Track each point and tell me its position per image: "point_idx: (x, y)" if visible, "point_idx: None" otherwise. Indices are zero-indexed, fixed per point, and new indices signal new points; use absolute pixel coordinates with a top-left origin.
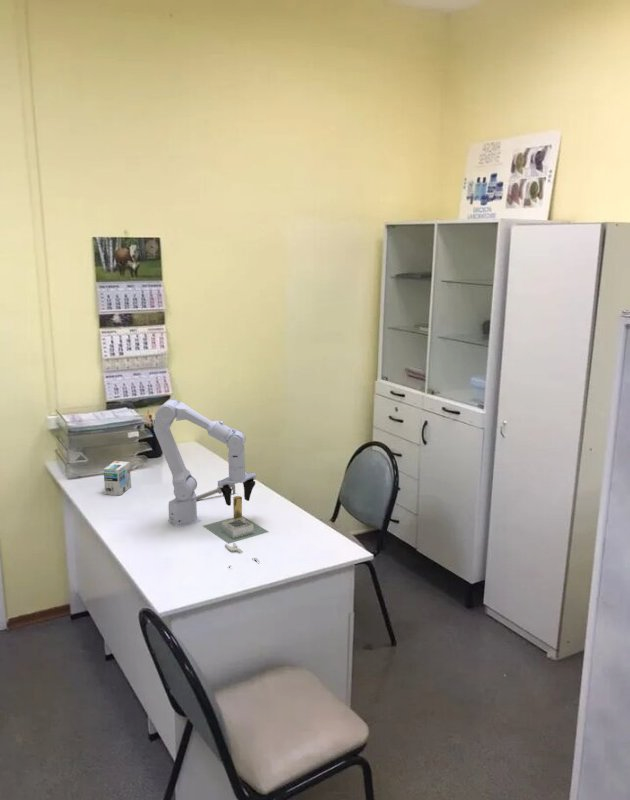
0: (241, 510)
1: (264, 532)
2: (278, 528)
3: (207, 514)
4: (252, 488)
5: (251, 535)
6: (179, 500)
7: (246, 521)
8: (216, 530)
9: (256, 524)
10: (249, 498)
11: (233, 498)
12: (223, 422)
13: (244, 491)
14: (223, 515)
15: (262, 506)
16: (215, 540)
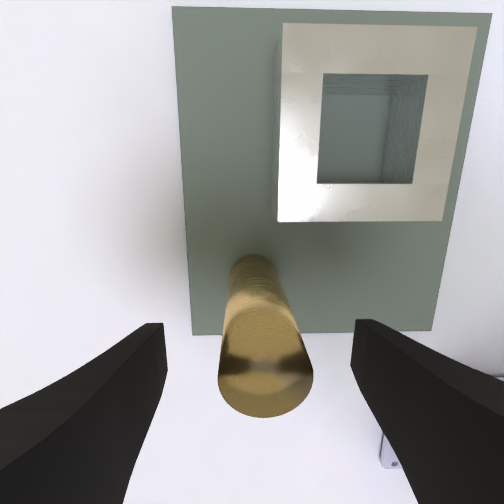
0: (240, 285)
1: (204, 17)
2: (80, 37)
3: (319, 433)
4: (12, 406)
5: None
6: None
7: (290, 124)
8: (417, 238)
9: (184, 174)
10: (135, 331)
11: (311, 382)
12: None
13: (138, 447)
14: None
15: (30, 382)
16: (493, 132)
